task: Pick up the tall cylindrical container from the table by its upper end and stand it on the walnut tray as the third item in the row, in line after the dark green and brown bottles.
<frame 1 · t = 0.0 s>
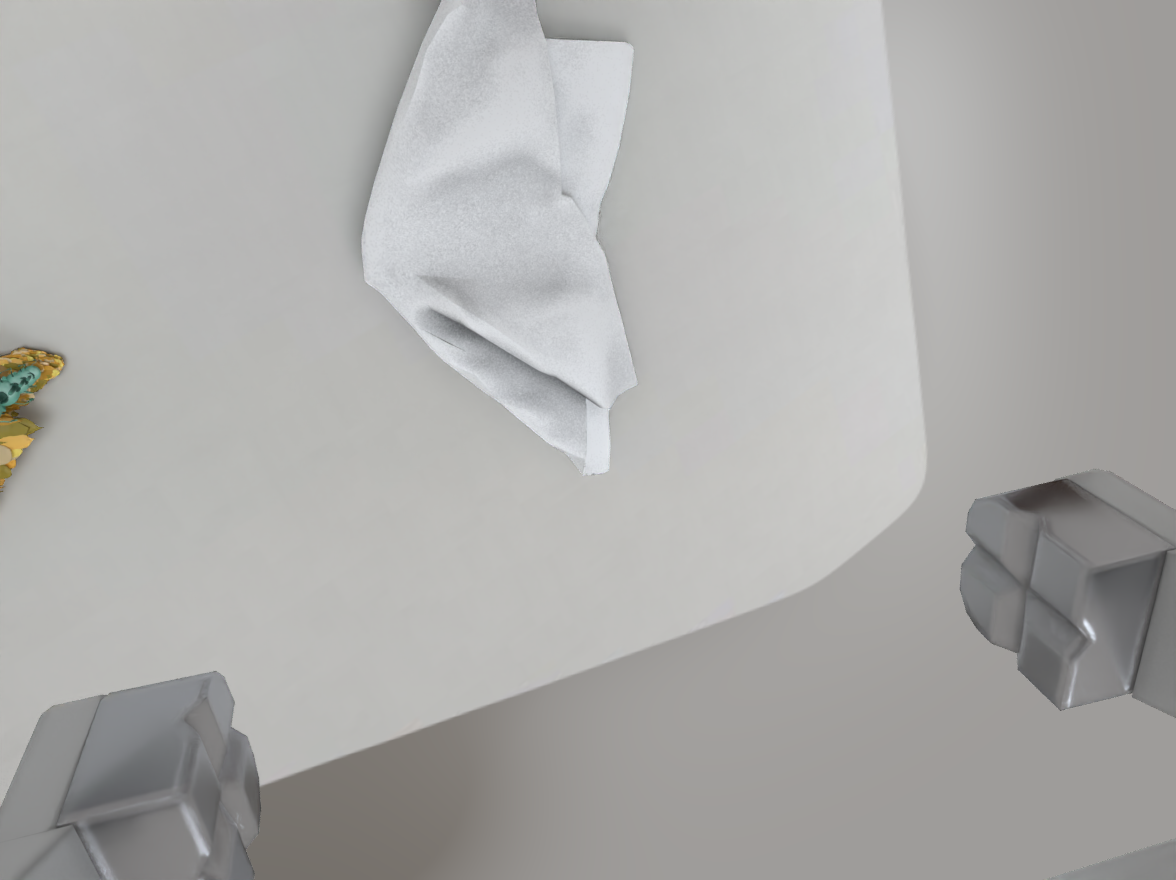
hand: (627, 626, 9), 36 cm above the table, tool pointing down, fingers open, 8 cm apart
cloth: (504, 246, 44), on the table, touching tray
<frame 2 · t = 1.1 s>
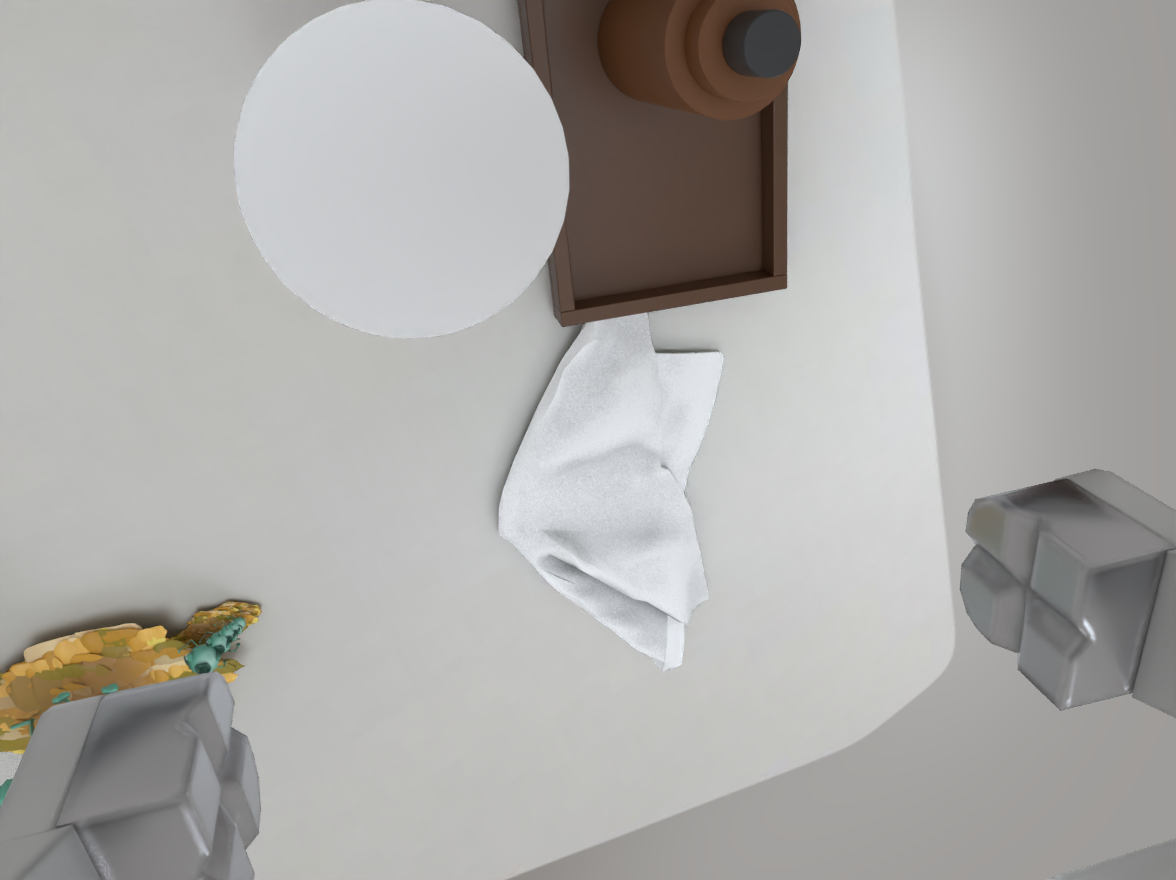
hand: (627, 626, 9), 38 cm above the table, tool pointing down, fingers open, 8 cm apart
brown bottle: (653, 39, 43), resting on tray
tray: (651, 55, 43), on the table
cloth: (610, 500, 53), on the table, touching tray
cylindrical container: (375, 99, 41), on the table
frog figurine: (123, 681, 51), on the table
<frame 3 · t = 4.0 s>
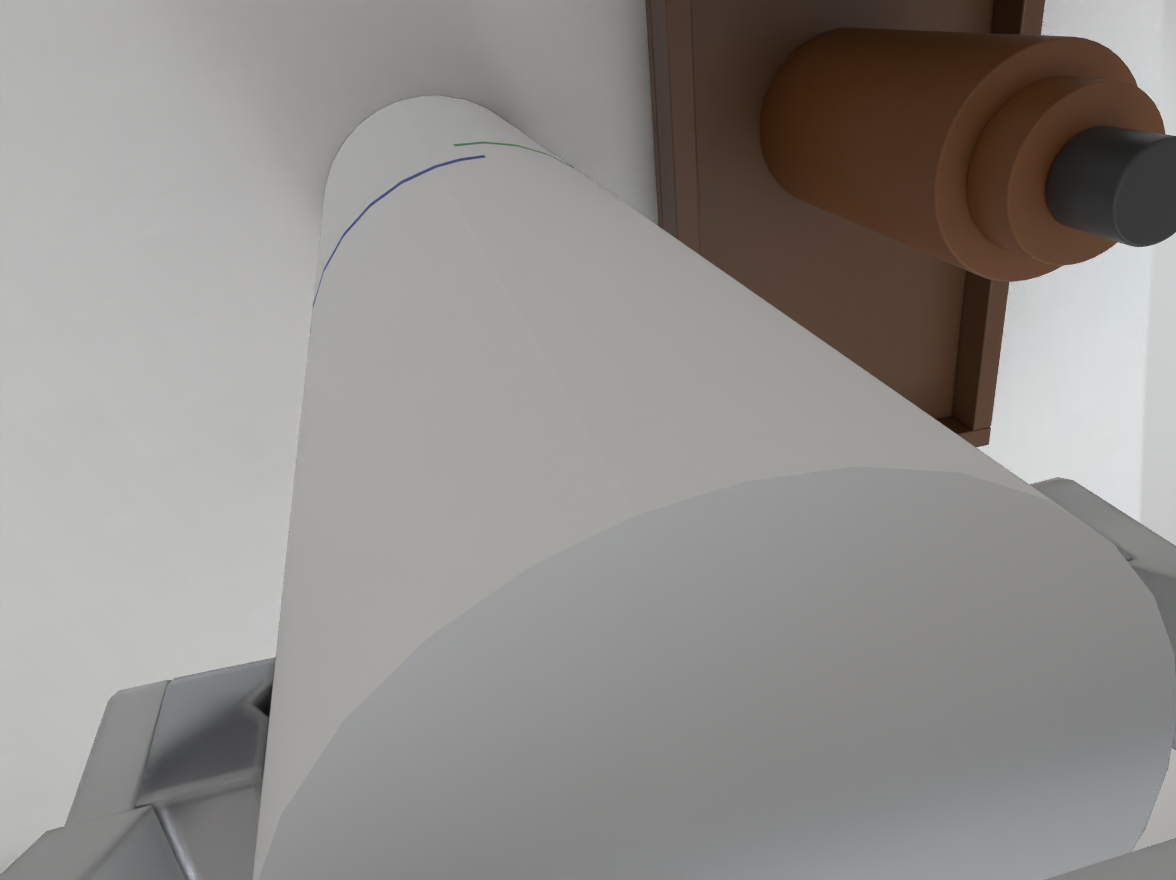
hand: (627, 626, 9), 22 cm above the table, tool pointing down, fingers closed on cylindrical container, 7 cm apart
brown bottle: (837, 119, 30), resting on tray
tray: (829, 139, 30), on the table
cylindrical container: (439, 213, 29), on the table, touching gripper
when the fingers open (22 cm above the table, at t = 11.6 s): cylindrical container stays where it is, resting on tray.
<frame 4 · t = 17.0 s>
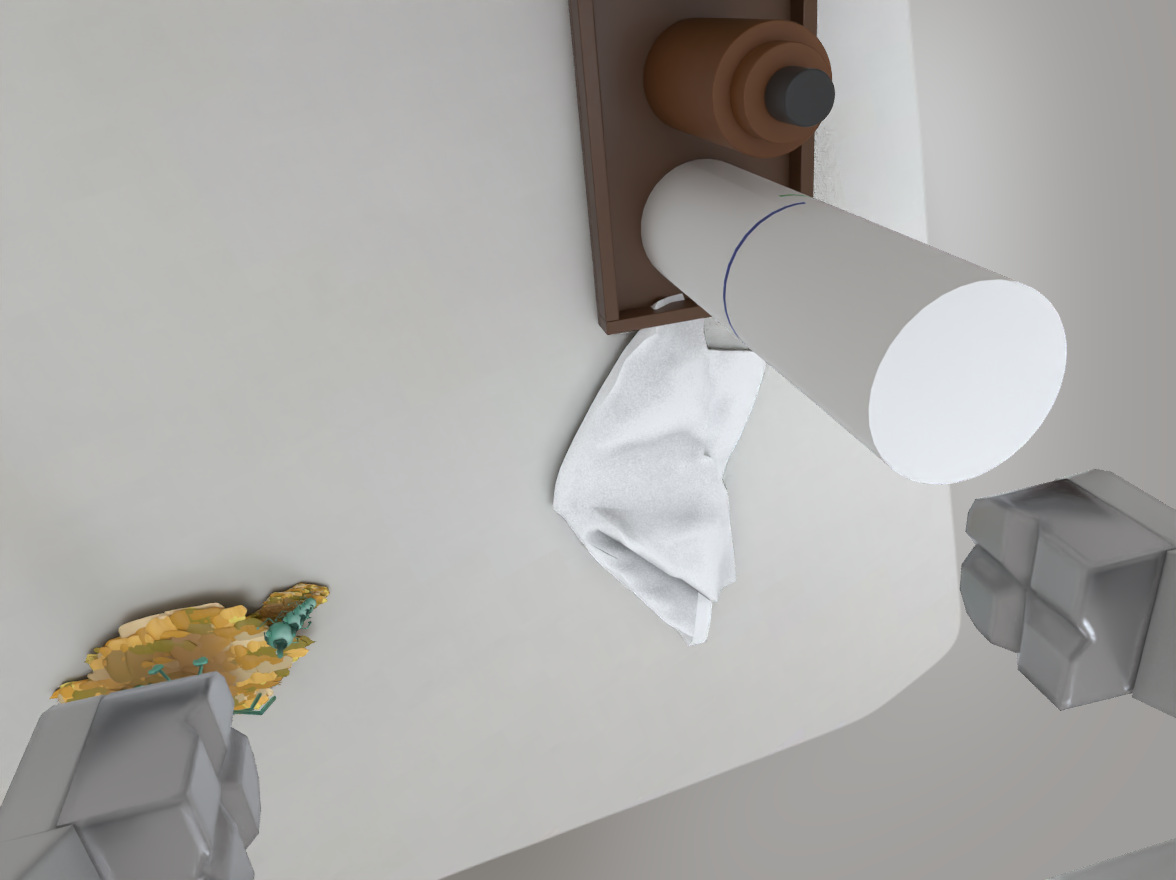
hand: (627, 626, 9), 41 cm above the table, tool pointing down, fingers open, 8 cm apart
brown bottle: (693, 75, 47), resting on tray
tray: (691, 89, 48), on the table
cloth: (654, 483, 58), on the table, touching tray
cylindrical container: (699, 222, 51), resting on tray
frog figurine: (204, 655, 56), on the table
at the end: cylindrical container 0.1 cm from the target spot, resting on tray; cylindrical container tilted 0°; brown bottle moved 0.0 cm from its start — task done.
